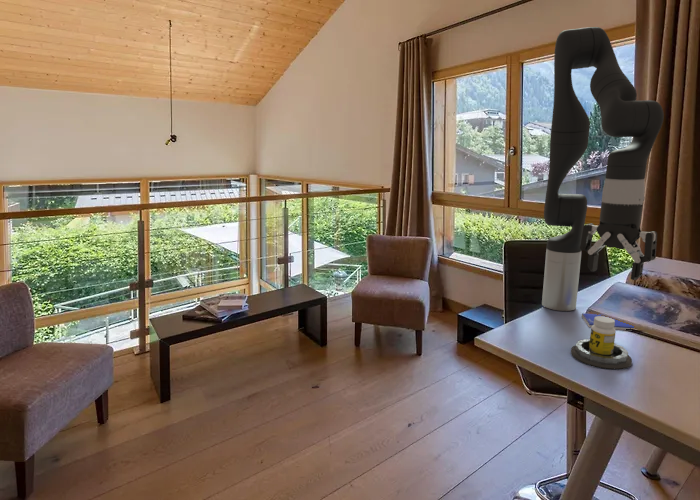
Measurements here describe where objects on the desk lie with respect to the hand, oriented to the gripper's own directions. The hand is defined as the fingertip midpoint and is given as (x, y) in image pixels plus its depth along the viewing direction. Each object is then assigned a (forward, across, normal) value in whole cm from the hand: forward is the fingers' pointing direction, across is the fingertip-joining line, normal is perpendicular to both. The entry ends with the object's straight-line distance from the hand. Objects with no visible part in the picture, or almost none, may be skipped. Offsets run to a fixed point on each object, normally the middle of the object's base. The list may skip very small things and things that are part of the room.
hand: (613, 274), depth 98 cm
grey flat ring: (+19, 0, -2) cm, 19 cm away
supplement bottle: (+18, 0, -2) cm, 18 cm away
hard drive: (+20, -8, +21) cm, 30 cm away
